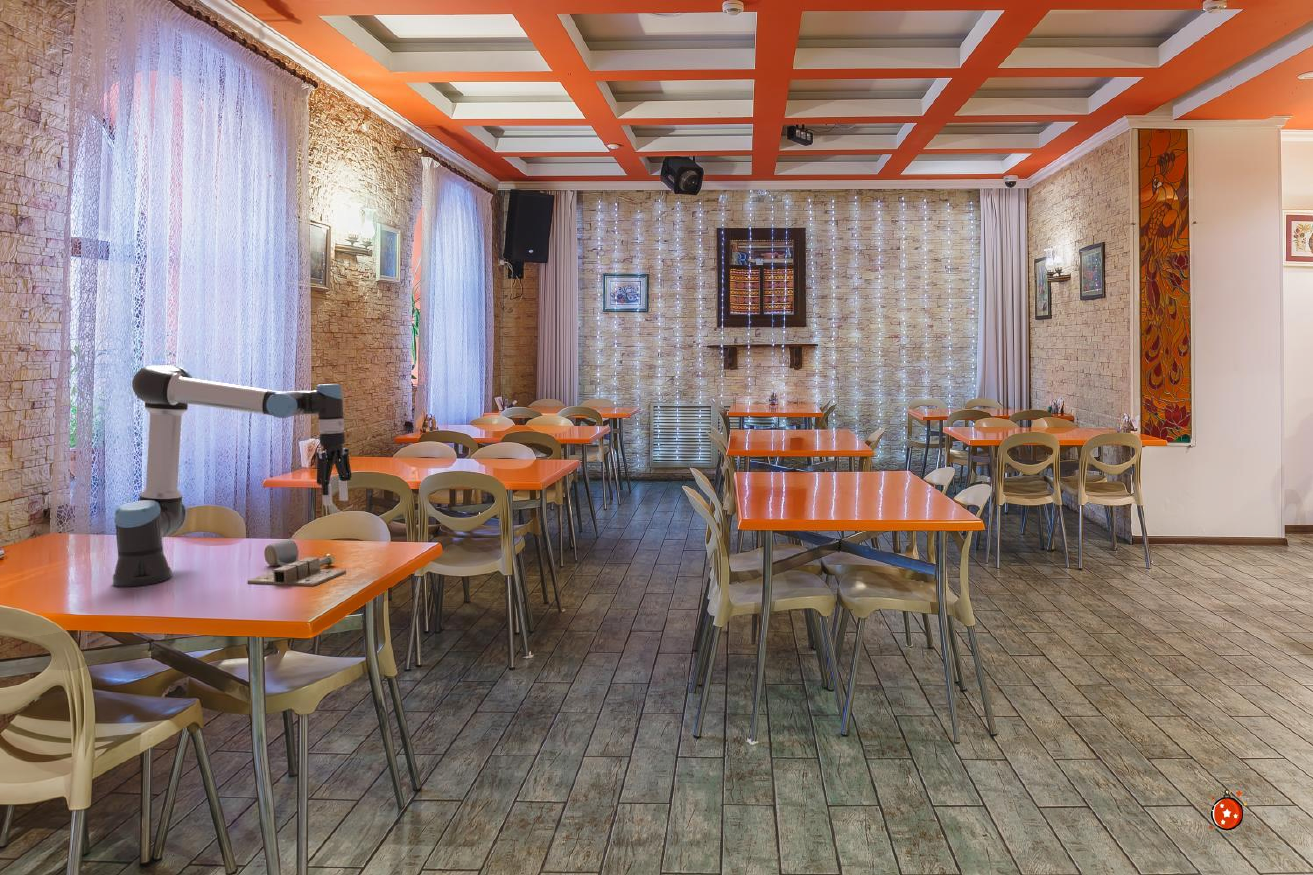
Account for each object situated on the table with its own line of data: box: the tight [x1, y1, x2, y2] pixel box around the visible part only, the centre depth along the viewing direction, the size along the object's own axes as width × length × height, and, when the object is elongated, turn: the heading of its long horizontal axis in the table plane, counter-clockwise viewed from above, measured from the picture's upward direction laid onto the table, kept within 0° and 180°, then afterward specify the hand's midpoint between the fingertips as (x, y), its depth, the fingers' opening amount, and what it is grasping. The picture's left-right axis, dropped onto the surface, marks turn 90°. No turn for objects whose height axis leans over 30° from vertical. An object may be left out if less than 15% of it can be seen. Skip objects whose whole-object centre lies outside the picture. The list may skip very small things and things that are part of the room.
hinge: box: [247, 556, 347, 587], centre depth 255 cm, size 16×22×4 cm
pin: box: [296, 553, 336, 569], centre depth 263 cm, size 17×3×3 cm, turn 167°
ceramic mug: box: [263, 538, 299, 567], centre depth 273 cm, size 11×8×8 cm
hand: (335, 502), depth 274 cm, fingers open, 8 cm apart
